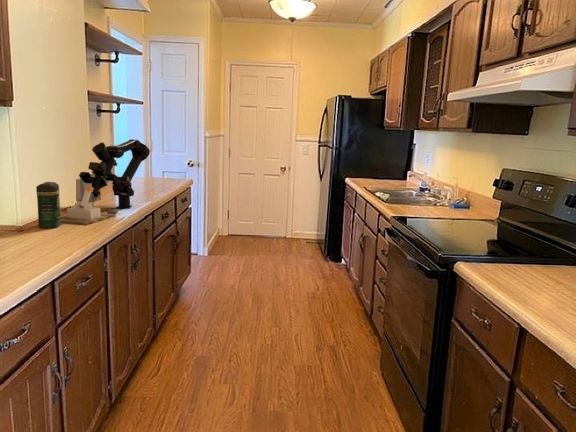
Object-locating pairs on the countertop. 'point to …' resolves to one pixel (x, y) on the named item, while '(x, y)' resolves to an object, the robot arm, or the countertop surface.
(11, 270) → the countertop surface
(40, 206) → the coffee jar
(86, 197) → the lever
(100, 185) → the robot arm
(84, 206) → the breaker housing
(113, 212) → the twin rounded prongs
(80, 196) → the circuit breaker
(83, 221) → the mounting board
